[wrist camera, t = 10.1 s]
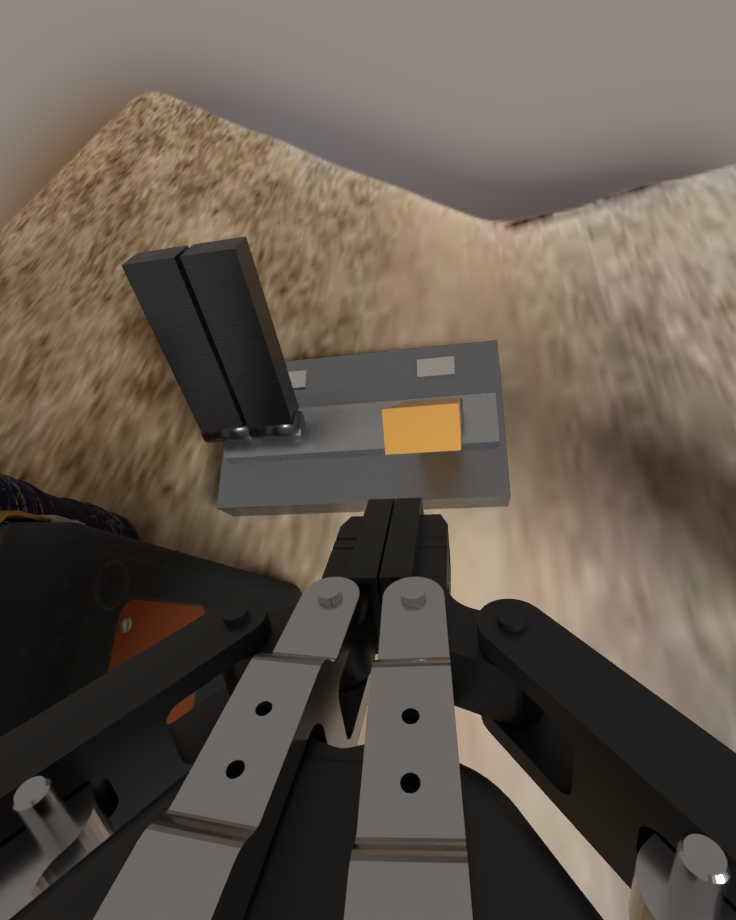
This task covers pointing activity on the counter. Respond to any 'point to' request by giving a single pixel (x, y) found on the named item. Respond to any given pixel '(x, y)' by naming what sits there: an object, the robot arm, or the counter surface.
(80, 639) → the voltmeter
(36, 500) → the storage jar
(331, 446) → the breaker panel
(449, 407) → the lever
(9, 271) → the counter surface
